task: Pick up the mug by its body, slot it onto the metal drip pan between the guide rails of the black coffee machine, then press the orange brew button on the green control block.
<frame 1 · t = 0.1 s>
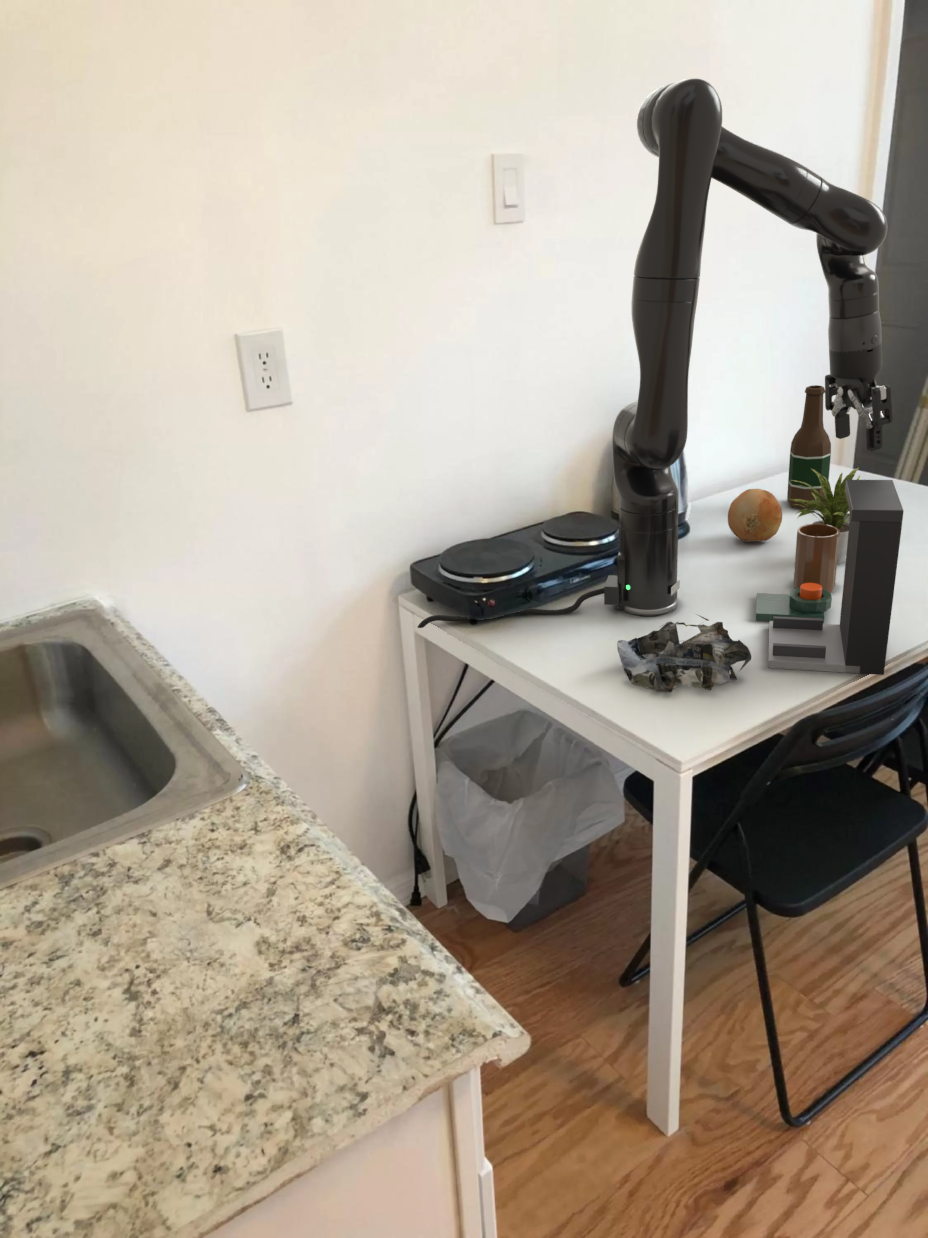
hand: (858, 443, 150), 22 cm above the table, tool pointing down, fingers open, 8 cm apart
onion: (753, 541, 176), on the table
brew button: (810, 591, 145), point 3 cm above the table, slide at 0.1 cm
mug: (813, 587, 155), on the table
beer bottle: (806, 505, 192), on the table
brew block: (789, 611, 147), on the table
foil: (678, 678, 131), on the table
coffee machine: (819, 650, 135), on the table
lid: (853, 531, 176), on the table
house plant: (828, 557, 166), on the table
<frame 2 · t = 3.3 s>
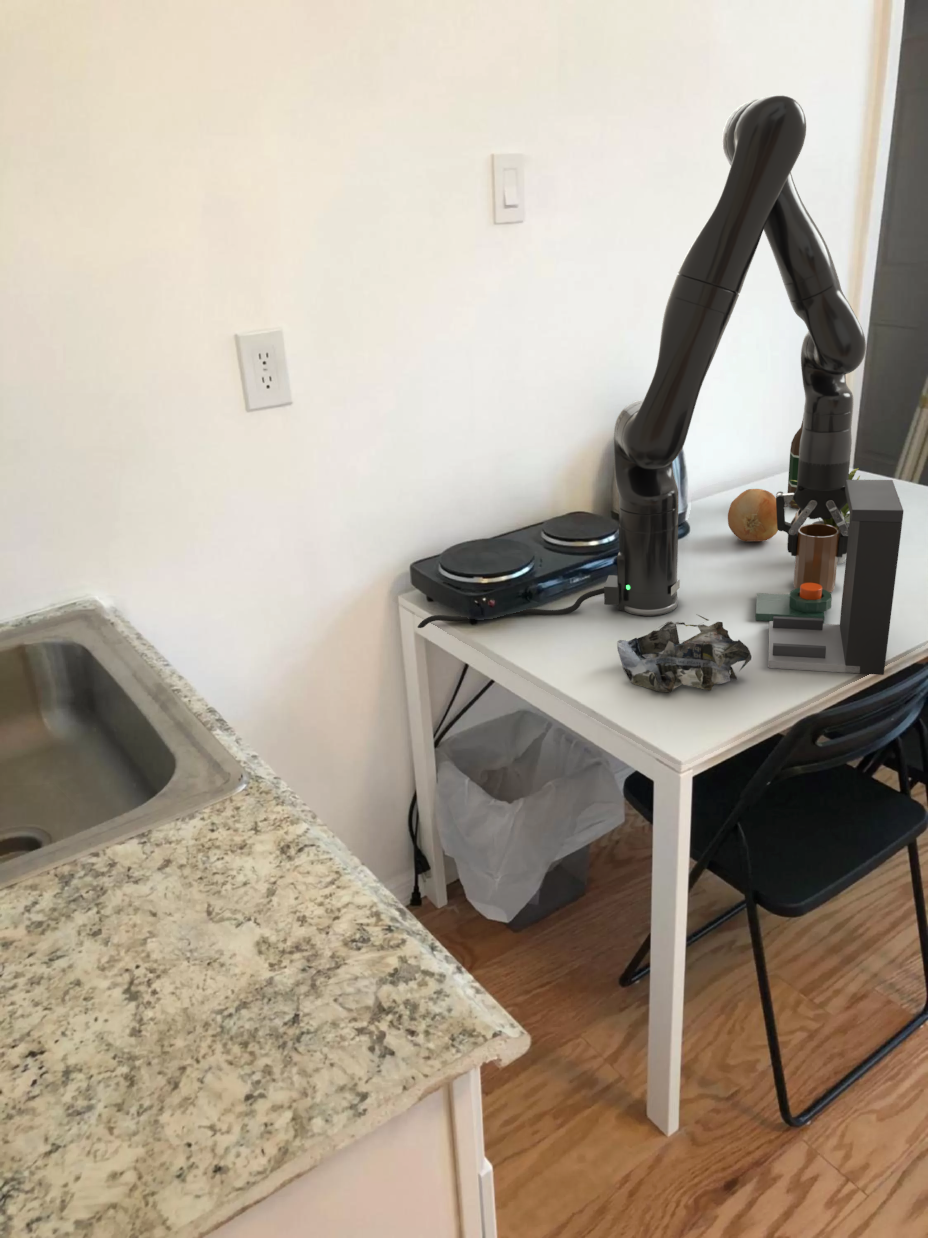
hand: (816, 554, 152), 6 cm above the table, tool pointing down, fingers closed on mug, 6 cm apart
mug: (813, 587, 155), on the table, touching gripper
everything else where it was.
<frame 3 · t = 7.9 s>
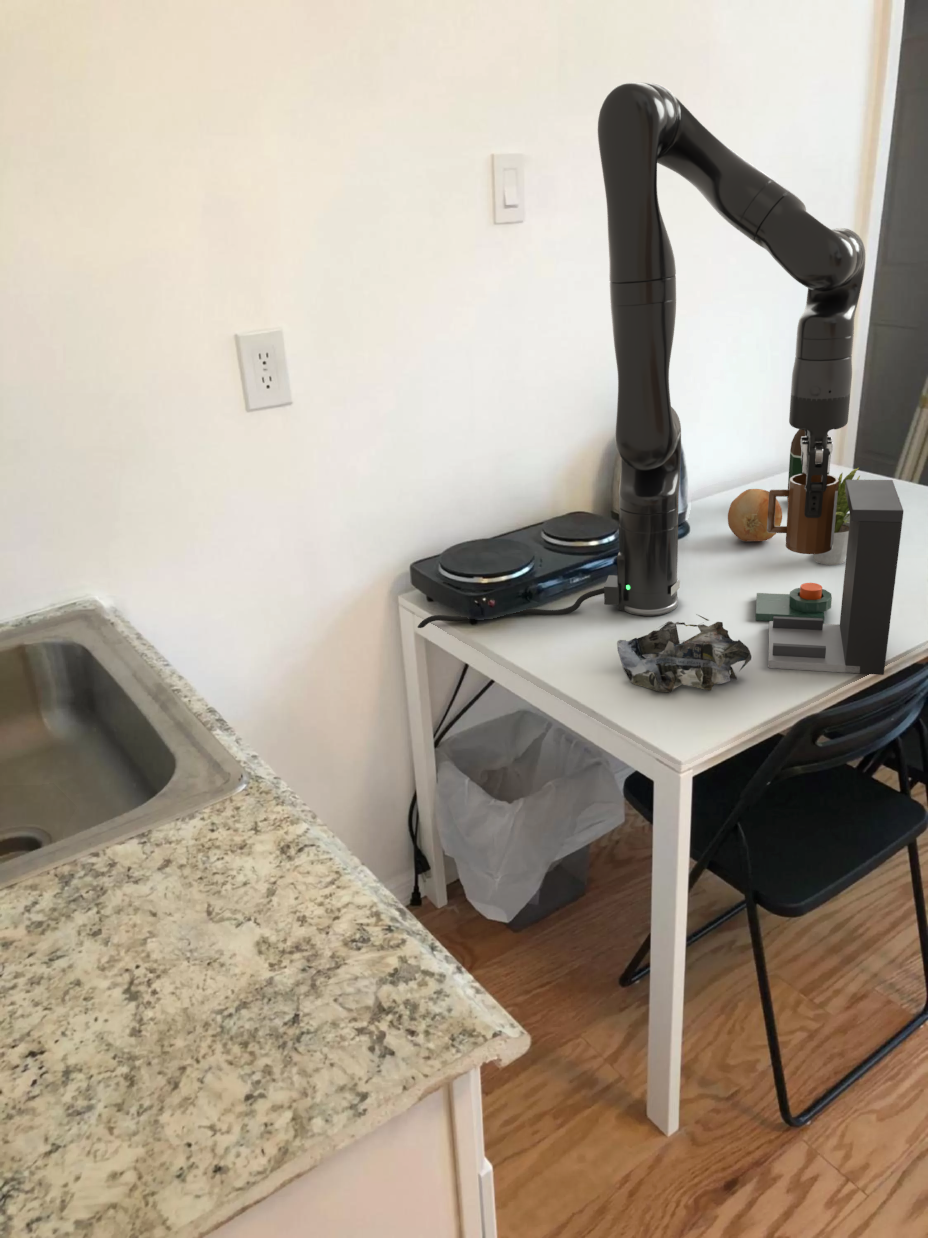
hand: (811, 508, 132), 20 cm above the table, tool pointing down, fingers closed on mug, 6 cm apart
mug: (808, 546, 134), point 14 cm above the table, touching gripper
everything else where it was.
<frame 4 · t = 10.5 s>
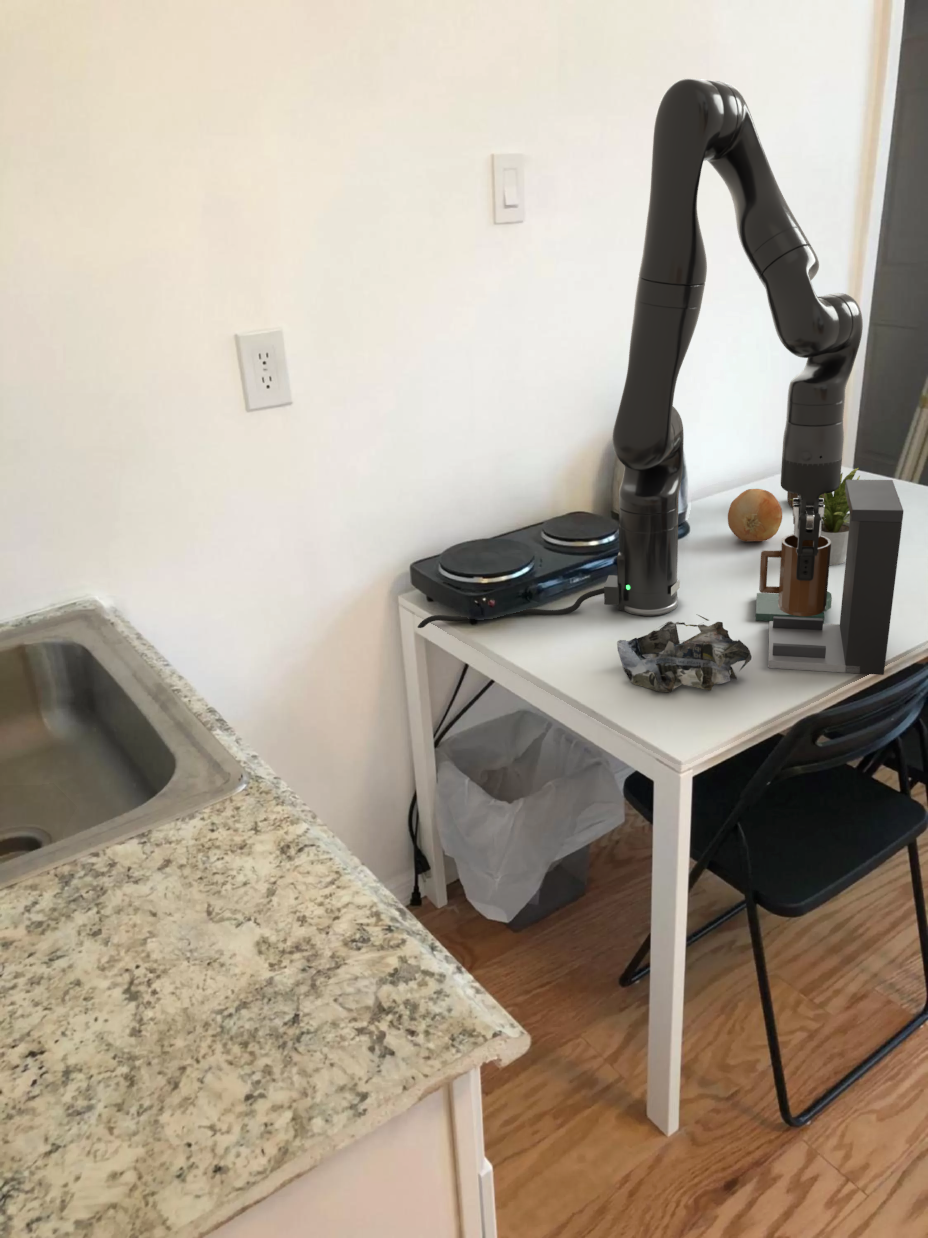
hand: (803, 569, 131), 12 cm above the table, tool pointing down, fingers closed on mug, 6 cm apart
mug: (801, 606, 133), point 7 cm above the table, touching gripper
everything else where it was.
when the fingers open (7 cm above the table, at t = 12.6 s): mug stays where it is, resting on coffee machine.
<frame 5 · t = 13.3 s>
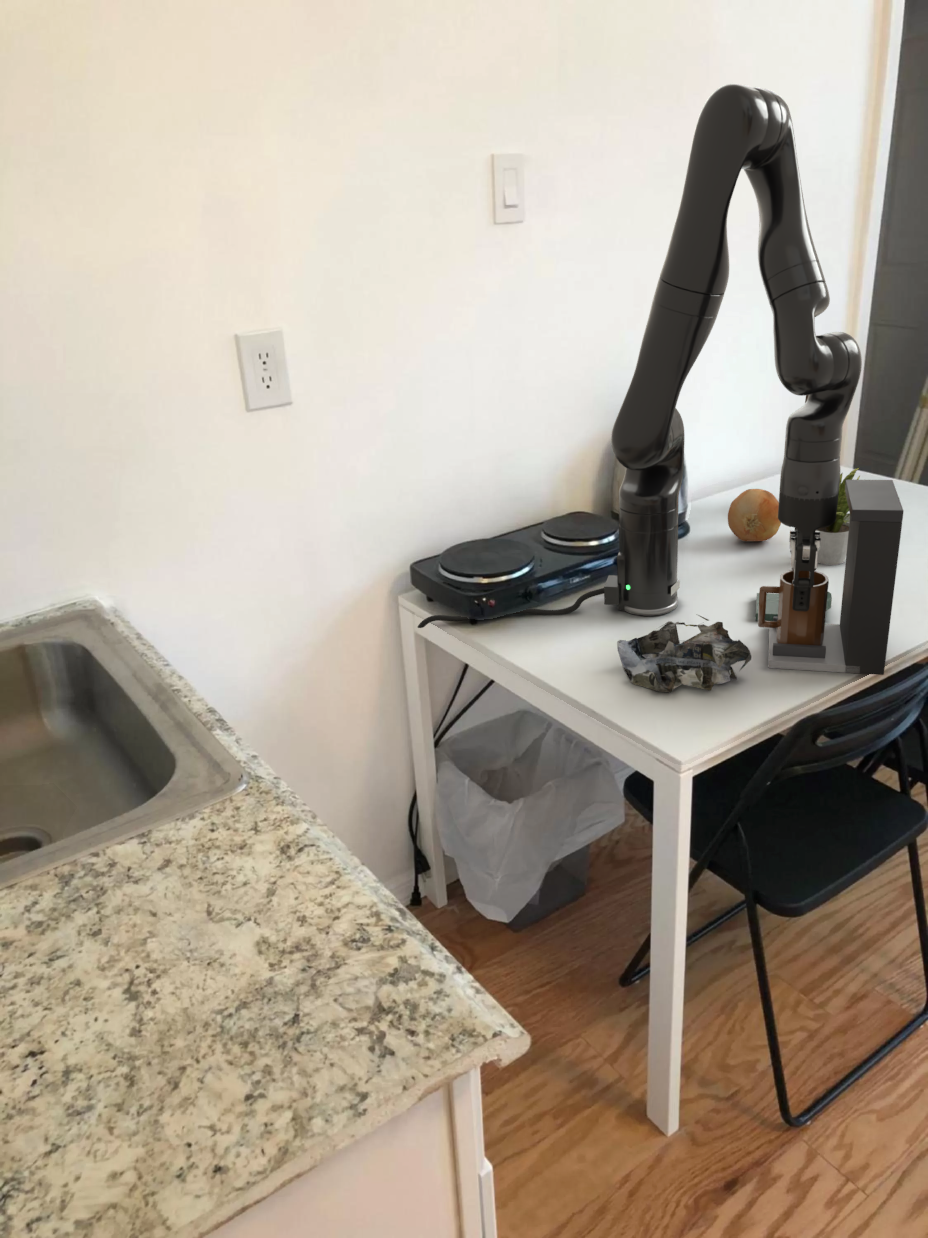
hand: (800, 597, 132), 8 cm above the table, tool pointing down, fingers open, 8 cm apart
mug: (799, 641, 135), point 1 cm above the table, touching coffee machine
everything else where it was.
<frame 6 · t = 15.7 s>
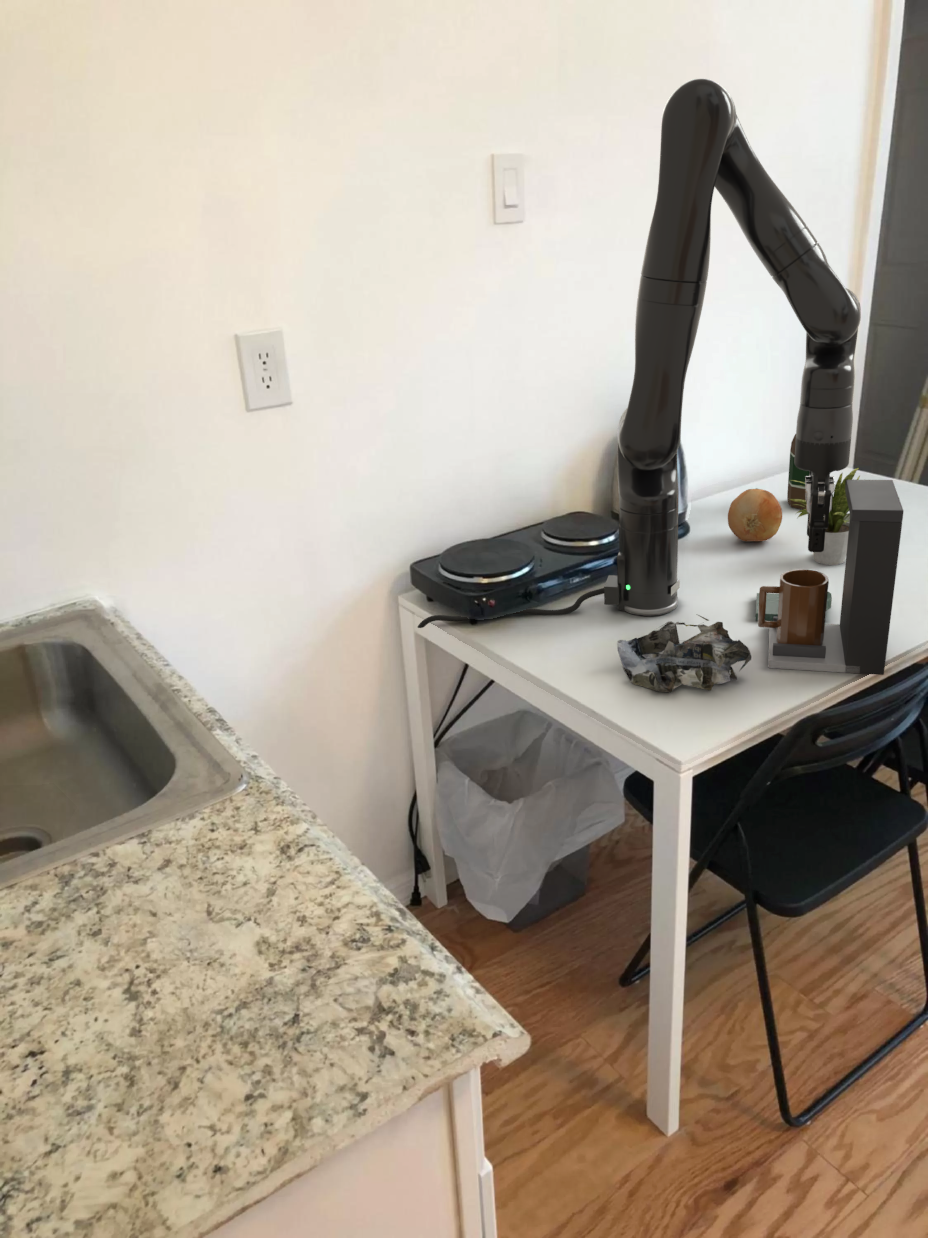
hand: (814, 542, 142), 12 cm above the table, tool pointing down, fingers open, 6 cm apart
nothing on the table moved.
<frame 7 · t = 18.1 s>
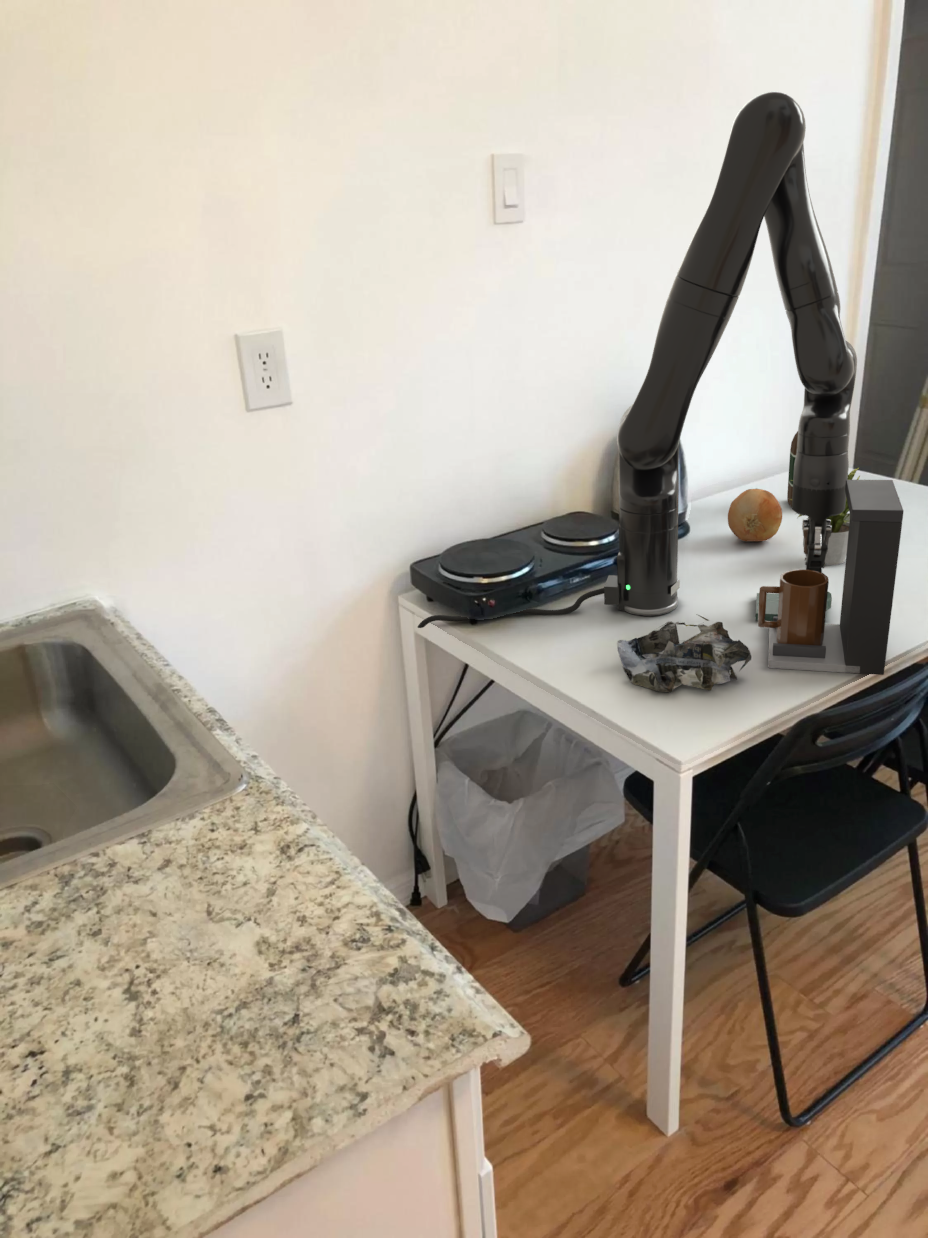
hand: (812, 587, 145), 4 cm above the table, tool pointing down, fingers closed
brew button: (810, 592, 145), point 3 cm above the table, slide at -0.1 cm, touching gripper
everything else where it was.
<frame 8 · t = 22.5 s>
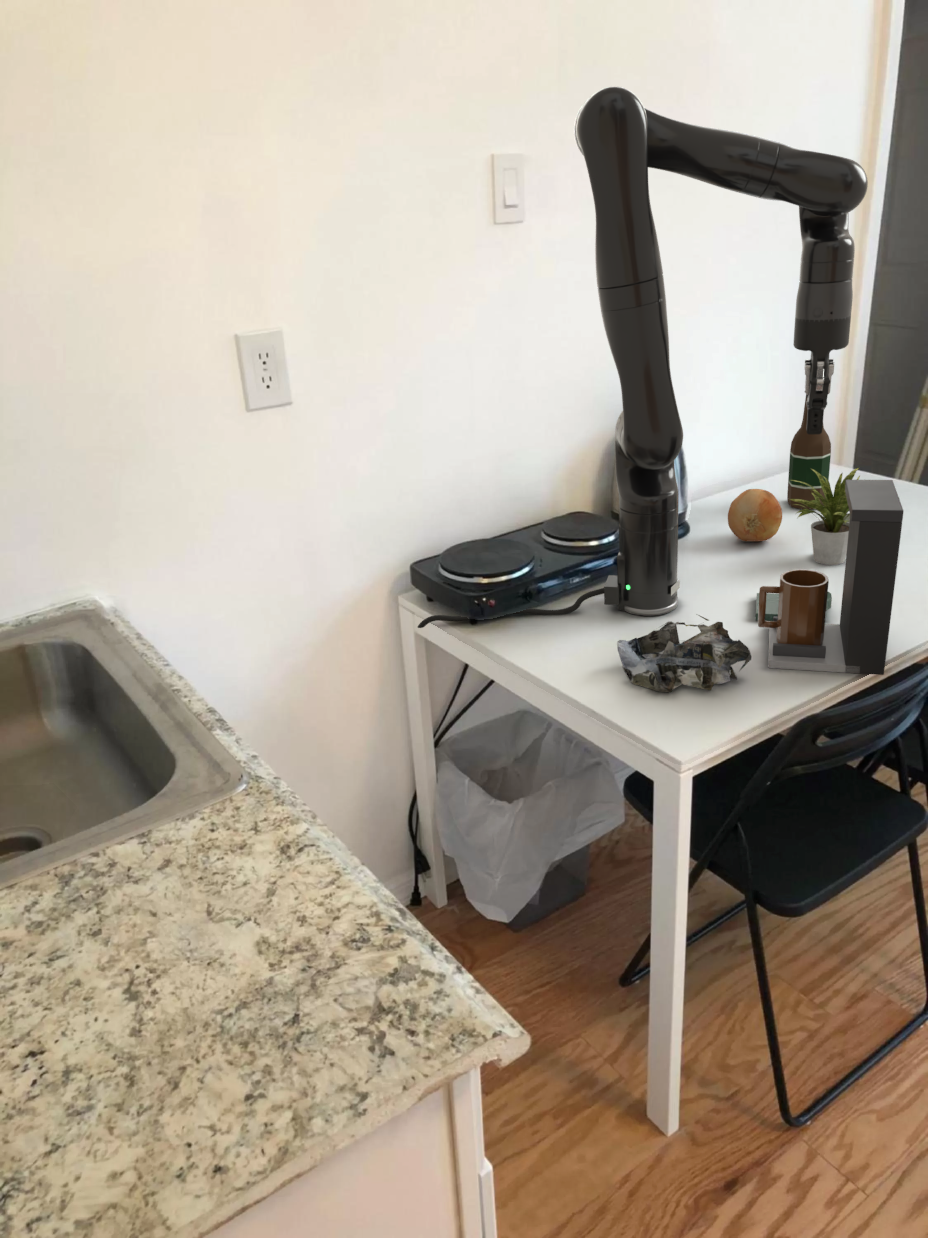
hand: (814, 432, 141), 27 cm above the table, tool pointing down, fingers closed
brew button: (810, 591, 145), point 3 cm above the table, slide at 0.1 cm
everything else where it was.
at the end: mug 0.2 cm from the target spot on the coffee machine, point 1.2 cm above the coffee machine's base; mug tilted 0°; brew button pushed in 1.1 cm at the most during the clip, back to where it started at the end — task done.
